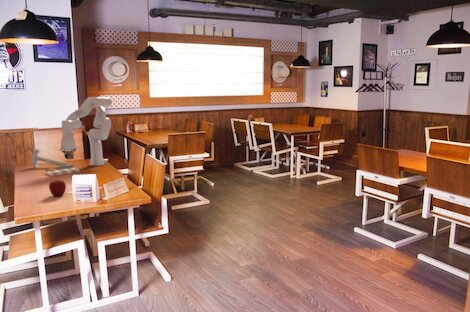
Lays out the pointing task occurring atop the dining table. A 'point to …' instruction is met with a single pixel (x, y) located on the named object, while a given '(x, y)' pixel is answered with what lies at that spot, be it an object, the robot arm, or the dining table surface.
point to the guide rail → (59, 168)
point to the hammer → (45, 159)
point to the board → (62, 171)
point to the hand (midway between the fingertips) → (69, 157)
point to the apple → (57, 187)
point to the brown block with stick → (70, 154)
